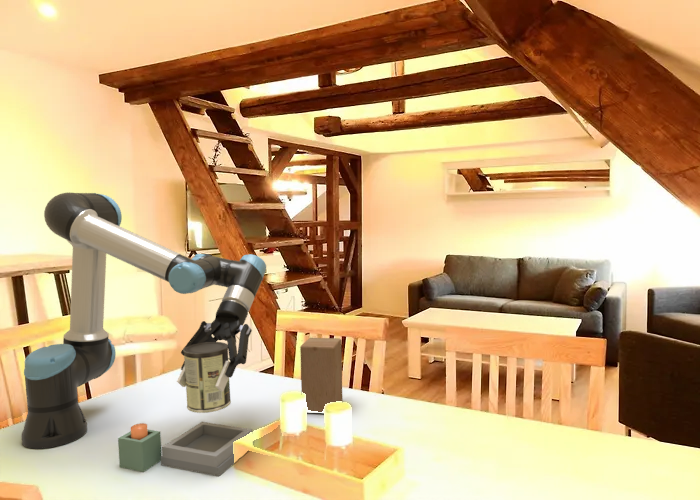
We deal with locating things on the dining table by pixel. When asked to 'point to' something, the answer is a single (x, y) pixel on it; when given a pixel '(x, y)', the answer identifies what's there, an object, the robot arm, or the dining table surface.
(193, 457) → the tray
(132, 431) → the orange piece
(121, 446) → the green egg cup
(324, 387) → the wooden block
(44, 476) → the dining table surface
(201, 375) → the coffee can
